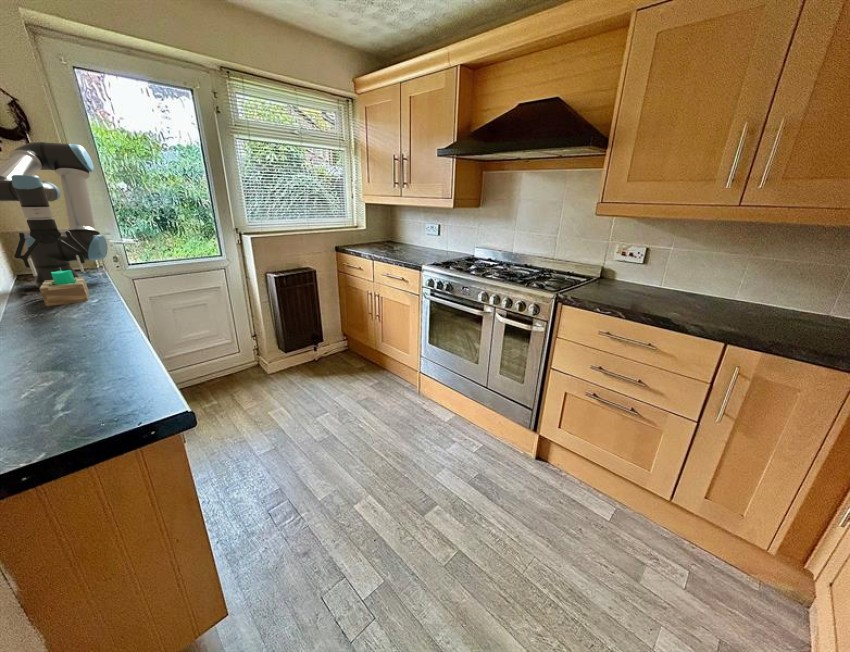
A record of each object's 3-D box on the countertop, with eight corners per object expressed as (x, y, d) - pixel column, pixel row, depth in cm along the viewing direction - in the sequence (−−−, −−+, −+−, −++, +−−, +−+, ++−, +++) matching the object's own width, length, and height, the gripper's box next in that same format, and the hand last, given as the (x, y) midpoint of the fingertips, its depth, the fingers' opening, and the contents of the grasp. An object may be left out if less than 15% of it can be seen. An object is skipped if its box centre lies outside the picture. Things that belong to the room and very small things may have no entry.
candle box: (50, 296, 147) (44, 280, 144) (89, 292, 154) (83, 276, 152) (46, 306, 135) (39, 288, 133) (87, 300, 143) (82, 284, 140)
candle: (84, 294, 147) (74, 266, 143) (69, 298, 142) (59, 269, 138) (70, 294, 148) (60, 266, 143) (55, 298, 142) (44, 269, 138)
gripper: (-12, 220, 123) (12, 279, 131) (84, 218, 138) (100, 271, 146) (-8, 219, 128) (16, 275, 136) (84, 217, 144) (100, 268, 151)
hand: (59, 273), depth 141 cm, fingers open, 13 cm apart
